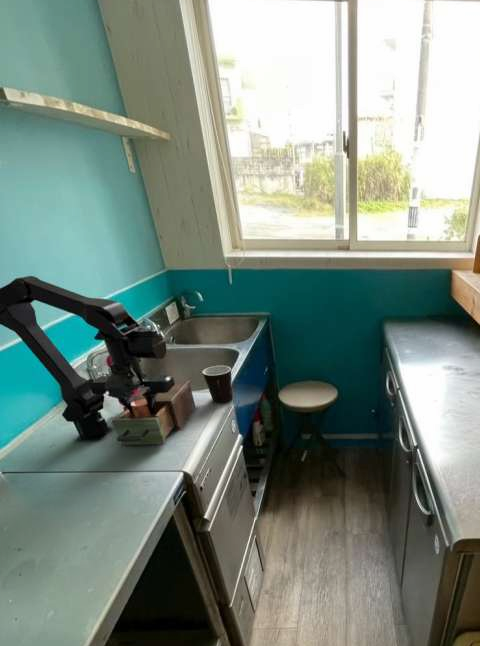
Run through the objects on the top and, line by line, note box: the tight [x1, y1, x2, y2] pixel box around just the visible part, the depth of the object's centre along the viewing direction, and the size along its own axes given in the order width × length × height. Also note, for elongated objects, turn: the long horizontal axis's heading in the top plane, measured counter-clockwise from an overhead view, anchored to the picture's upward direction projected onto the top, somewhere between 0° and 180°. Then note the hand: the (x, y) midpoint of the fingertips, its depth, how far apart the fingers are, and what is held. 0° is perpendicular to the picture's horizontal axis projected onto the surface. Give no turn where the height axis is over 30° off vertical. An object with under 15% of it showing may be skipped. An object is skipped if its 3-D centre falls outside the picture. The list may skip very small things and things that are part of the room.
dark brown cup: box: [202, 365, 234, 405], centre depth 126 cm, size 12×9×10 cm
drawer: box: [111, 404, 176, 446], centre depth 106 cm, size 18×11×7 cm, turn 2°
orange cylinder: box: [131, 399, 154, 418], centre depth 104 cm, size 4×6×5 cm
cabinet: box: [132, 380, 197, 431], centre depth 116 cm, size 15×13×9 cm
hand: (143, 414), depth 105 cm, fingers closed on orange cylinder, 4 cm apart
